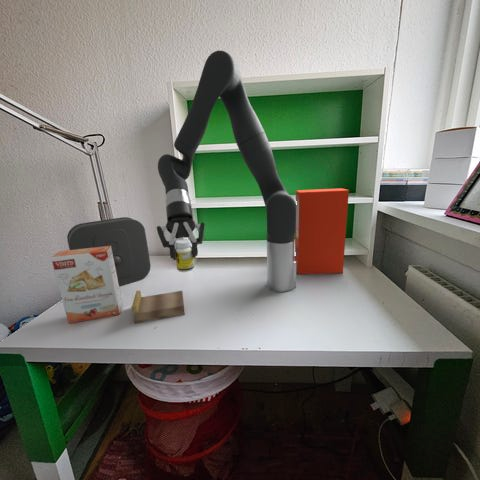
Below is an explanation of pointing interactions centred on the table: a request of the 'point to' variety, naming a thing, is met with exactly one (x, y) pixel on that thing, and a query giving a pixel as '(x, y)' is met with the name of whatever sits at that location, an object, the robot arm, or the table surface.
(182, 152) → the robot arm
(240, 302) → the table surface
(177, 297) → the dock
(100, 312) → the cracker box
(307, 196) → the file binder
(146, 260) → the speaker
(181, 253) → the supplement bottle
